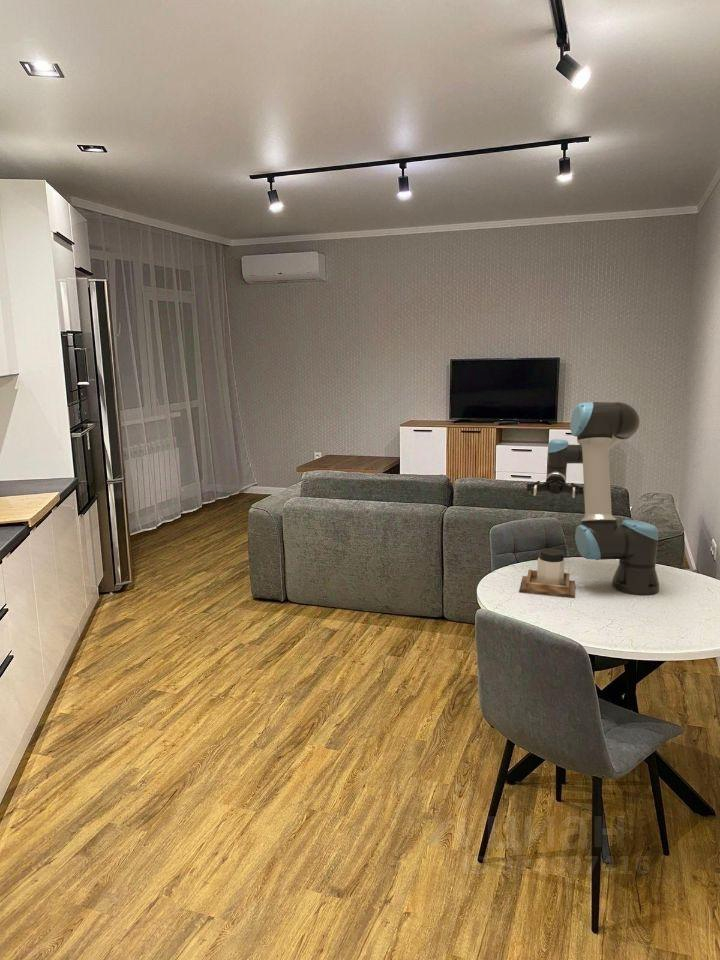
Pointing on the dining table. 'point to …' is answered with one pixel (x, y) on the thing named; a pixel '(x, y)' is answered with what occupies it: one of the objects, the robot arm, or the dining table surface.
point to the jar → (550, 566)
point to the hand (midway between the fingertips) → (554, 493)
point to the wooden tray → (547, 586)
